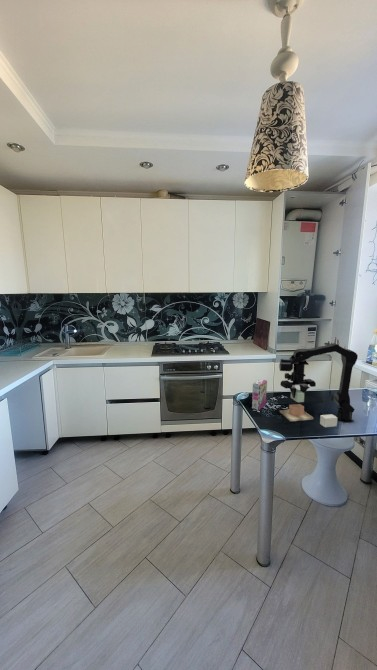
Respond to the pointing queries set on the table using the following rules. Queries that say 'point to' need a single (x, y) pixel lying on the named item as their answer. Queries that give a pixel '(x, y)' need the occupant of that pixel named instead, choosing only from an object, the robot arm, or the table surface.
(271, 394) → the table surface
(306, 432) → the table surface
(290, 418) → the birch board
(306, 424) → the table surface
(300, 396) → the sage brick
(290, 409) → the terracotta brick
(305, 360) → the robot arm
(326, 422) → the cream brick
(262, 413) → the table surface
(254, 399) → the candy bar box
